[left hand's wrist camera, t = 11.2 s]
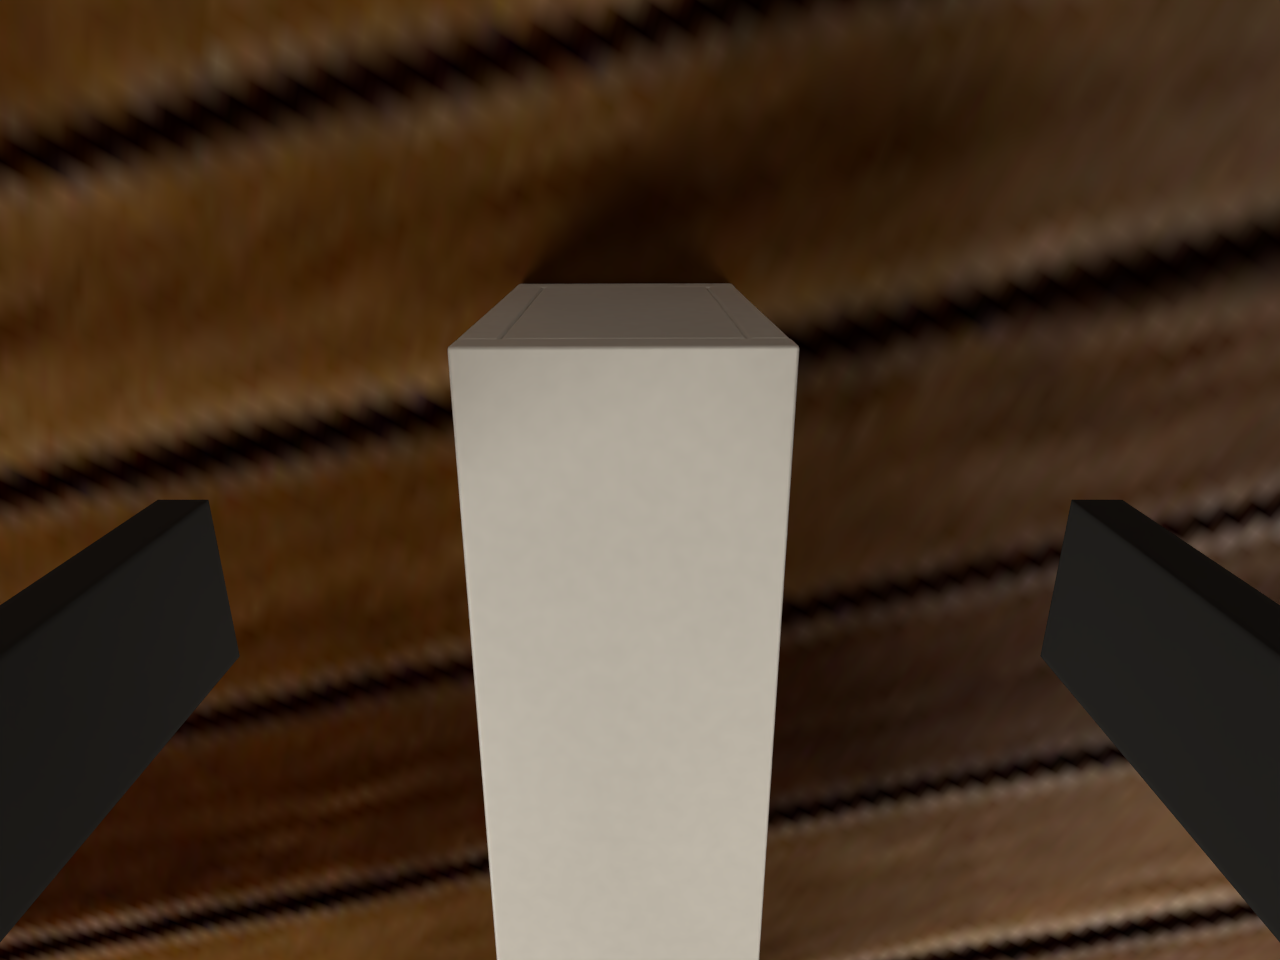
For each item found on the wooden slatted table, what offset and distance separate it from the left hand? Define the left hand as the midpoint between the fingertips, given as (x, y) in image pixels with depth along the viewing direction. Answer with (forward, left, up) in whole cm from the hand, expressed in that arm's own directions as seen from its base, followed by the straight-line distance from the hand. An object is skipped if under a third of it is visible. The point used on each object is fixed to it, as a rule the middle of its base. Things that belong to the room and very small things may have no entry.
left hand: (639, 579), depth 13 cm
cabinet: (+2, +7, -11) cm, 13 cm away
